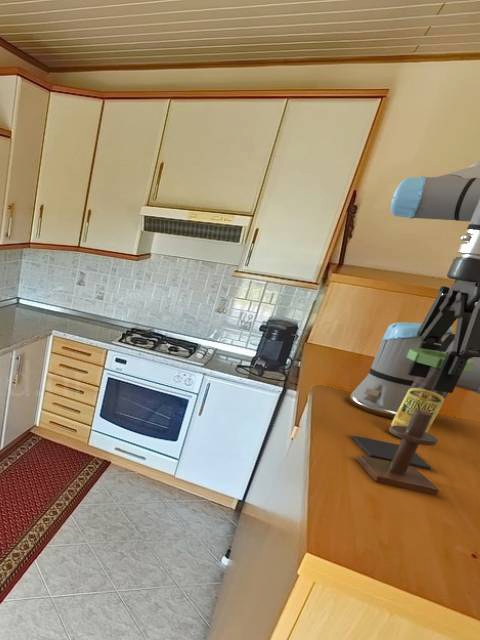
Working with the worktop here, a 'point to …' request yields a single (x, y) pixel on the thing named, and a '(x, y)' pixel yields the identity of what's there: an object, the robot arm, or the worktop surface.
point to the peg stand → (404, 457)
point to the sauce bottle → (420, 400)
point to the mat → (386, 451)
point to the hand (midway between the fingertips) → (428, 383)
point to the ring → (432, 358)
